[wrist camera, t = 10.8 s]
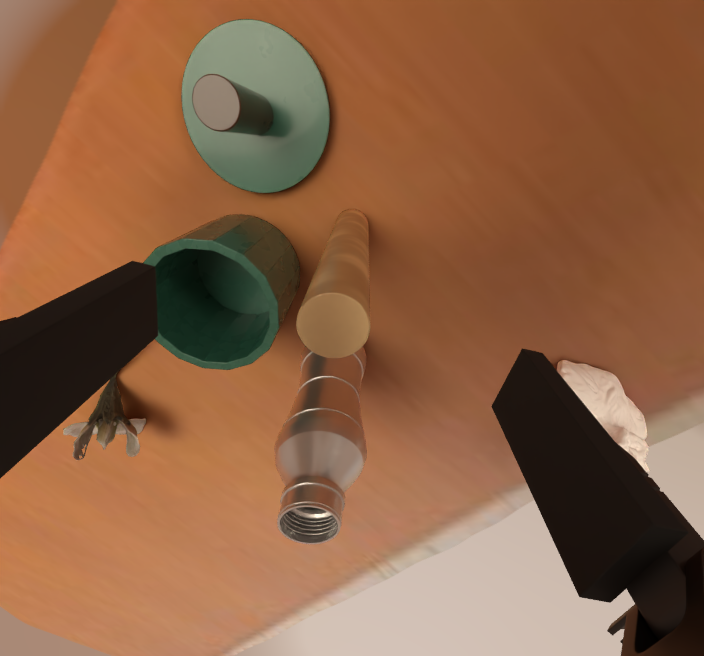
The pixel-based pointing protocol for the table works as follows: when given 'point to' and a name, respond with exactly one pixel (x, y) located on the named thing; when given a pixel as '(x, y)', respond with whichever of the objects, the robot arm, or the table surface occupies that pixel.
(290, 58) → the lid
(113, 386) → the artificial flower
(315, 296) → the stick
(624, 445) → the bust
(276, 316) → the pot
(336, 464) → the plastic bottle
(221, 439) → the table surface
